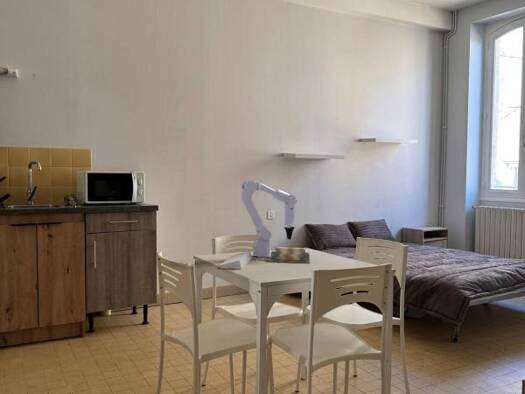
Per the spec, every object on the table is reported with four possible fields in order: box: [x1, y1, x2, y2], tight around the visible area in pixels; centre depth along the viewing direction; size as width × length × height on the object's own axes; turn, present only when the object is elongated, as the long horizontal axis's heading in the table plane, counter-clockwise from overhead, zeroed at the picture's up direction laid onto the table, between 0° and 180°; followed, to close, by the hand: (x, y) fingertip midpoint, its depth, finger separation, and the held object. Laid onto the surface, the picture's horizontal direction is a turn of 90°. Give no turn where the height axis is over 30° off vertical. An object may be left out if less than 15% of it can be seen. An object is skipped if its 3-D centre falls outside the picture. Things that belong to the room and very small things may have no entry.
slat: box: [274, 246, 306, 260], centre depth 274 cm, size 16×2×6 cm, turn 83°
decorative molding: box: [219, 250, 253, 270], centre depth 263 cm, size 34×5×10 cm
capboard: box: [269, 250, 311, 264], centre depth 274 cm, size 21×11×4 cm, turn 83°
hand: (289, 239), depth 294 cm, fingers closed
